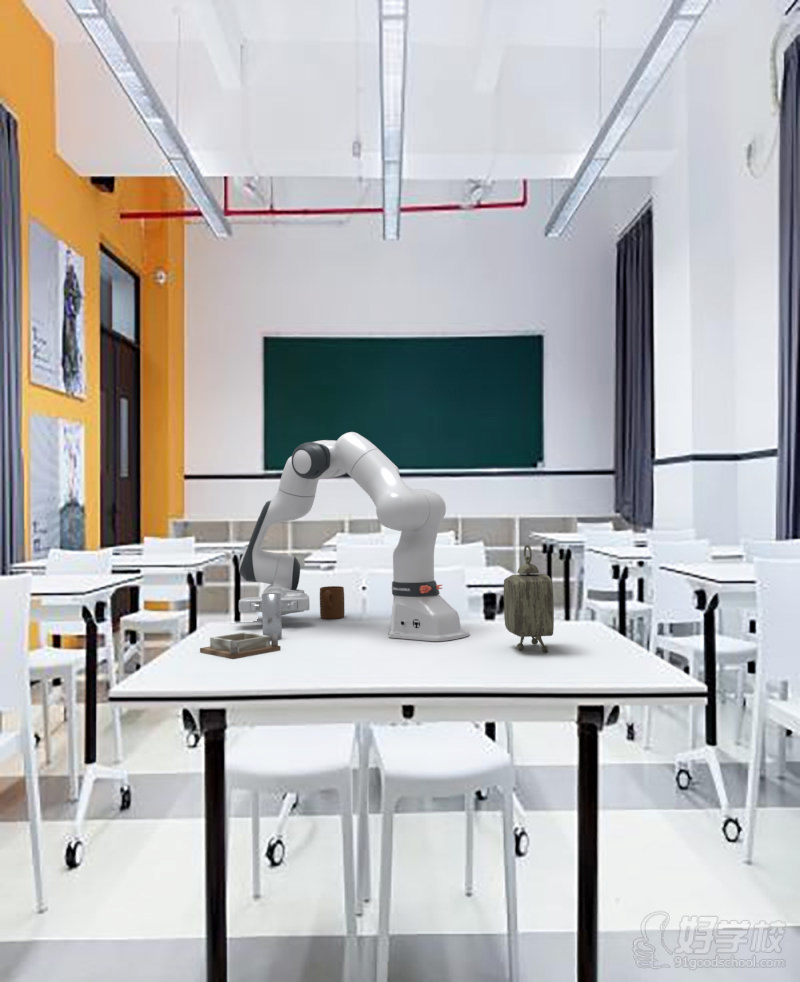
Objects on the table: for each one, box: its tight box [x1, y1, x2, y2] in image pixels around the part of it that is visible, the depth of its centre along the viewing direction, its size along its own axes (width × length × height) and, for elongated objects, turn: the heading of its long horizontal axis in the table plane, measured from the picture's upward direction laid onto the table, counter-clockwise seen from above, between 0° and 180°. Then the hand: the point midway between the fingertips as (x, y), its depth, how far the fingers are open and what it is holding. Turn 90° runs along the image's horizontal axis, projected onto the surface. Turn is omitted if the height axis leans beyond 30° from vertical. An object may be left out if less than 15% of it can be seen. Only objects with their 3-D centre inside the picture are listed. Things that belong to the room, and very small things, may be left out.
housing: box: [199, 631, 281, 660], centre depth 211 cm, size 14×14×4 cm
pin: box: [261, 593, 283, 642], centre depth 228 cm, size 5×5×12 cm
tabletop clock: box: [503, 544, 555, 654], centre depth 204 cm, size 14×9×25 cm, turn 4°
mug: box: [319, 585, 345, 620], centre depth 263 cm, size 12×8×9 cm, turn 172°
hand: (273, 607), depth 240 cm, fingers open, 8 cm apart
